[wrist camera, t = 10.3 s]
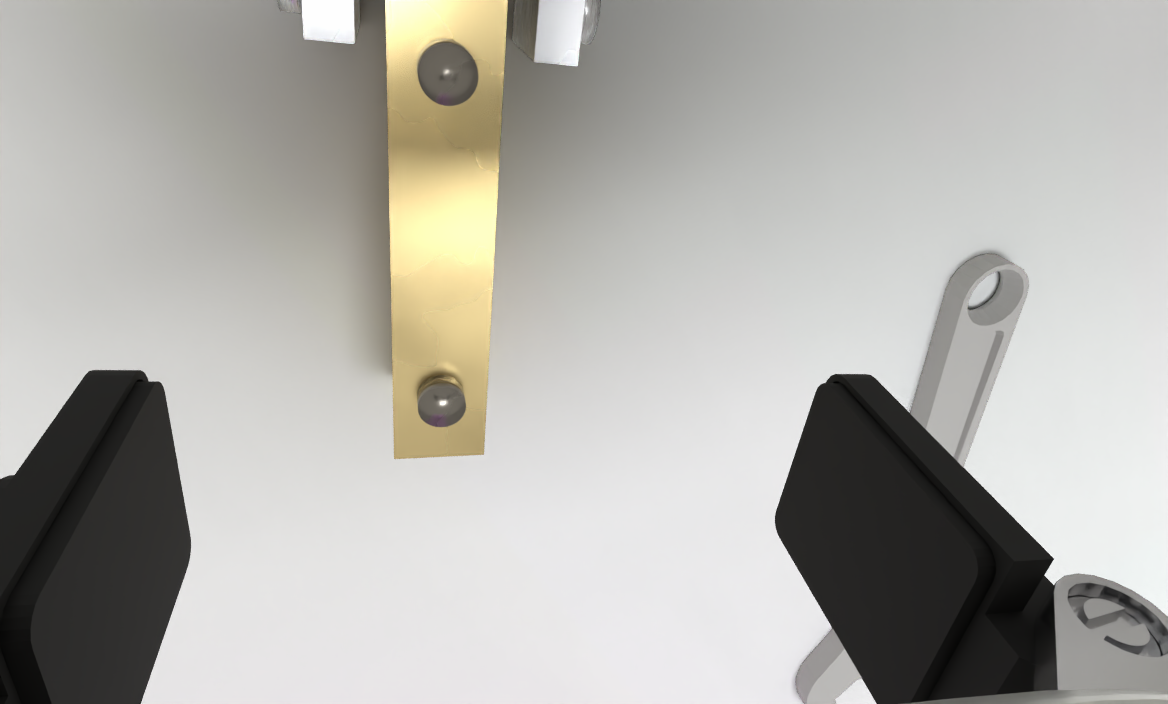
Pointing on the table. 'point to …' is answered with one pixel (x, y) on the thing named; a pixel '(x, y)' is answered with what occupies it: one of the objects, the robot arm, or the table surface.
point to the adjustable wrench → (941, 411)
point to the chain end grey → (540, 29)
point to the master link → (442, 216)
